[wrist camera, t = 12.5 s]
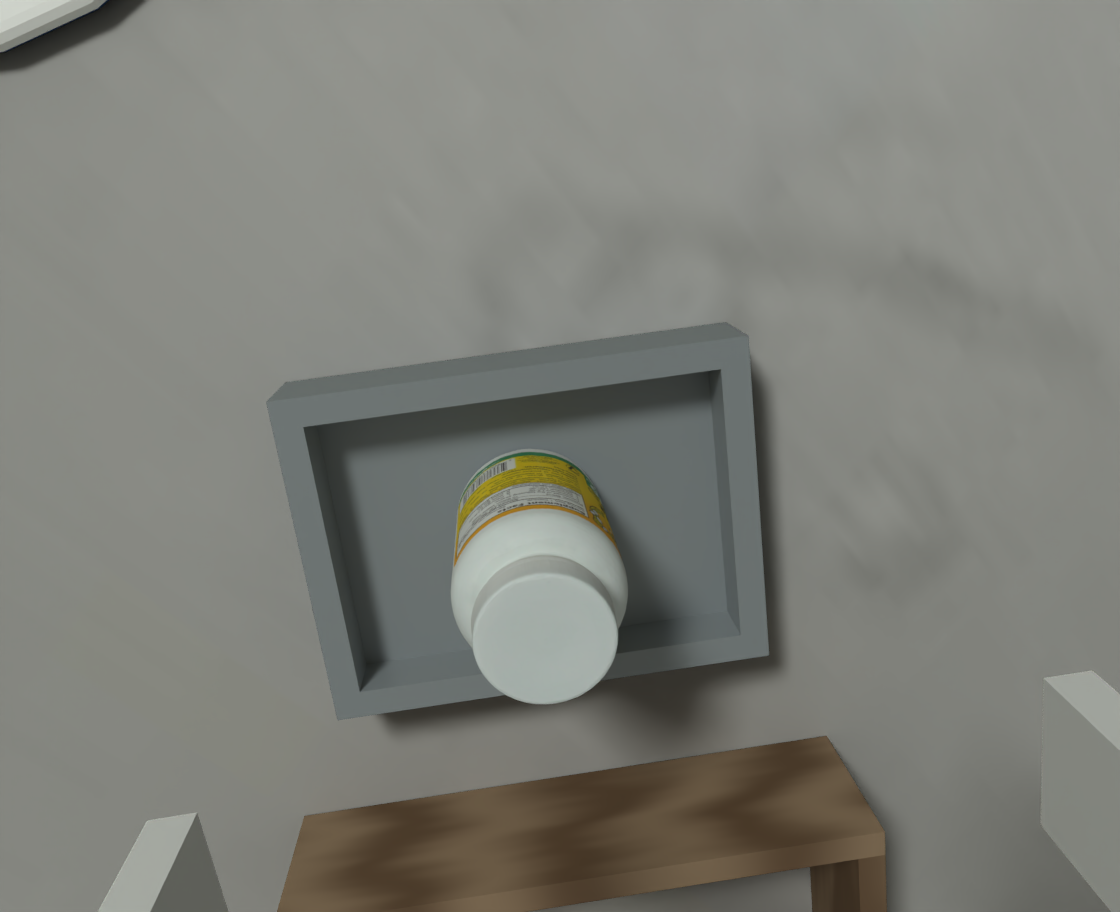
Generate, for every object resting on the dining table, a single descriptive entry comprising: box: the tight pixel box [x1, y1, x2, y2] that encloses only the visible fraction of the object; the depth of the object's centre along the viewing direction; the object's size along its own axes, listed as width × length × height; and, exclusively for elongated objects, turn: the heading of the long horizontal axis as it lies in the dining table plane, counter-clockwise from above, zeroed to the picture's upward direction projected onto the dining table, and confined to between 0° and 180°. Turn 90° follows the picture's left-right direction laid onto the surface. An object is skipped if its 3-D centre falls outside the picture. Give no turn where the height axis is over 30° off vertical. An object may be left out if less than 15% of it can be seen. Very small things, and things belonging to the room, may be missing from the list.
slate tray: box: [266, 322, 769, 720], centre depth 34 cm, size 16×12×3 cm
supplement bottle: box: [451, 449, 628, 704], centre depth 30 cm, size 5×5×10 cm
